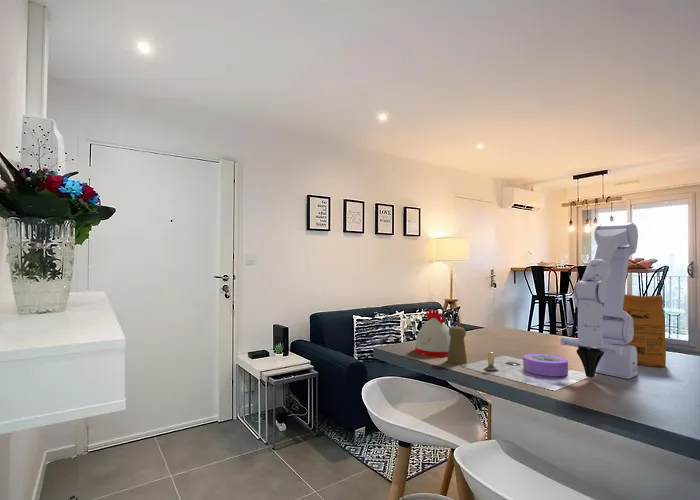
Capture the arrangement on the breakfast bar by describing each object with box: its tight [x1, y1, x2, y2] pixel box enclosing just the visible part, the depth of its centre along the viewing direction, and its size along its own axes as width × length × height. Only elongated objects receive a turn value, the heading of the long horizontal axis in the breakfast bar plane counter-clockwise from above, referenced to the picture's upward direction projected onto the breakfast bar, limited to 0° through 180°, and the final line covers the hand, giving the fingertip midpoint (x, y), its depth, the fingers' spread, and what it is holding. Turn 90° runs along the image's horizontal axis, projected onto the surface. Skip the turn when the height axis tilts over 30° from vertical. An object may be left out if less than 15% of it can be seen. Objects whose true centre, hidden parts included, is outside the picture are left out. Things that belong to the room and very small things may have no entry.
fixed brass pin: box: [486, 351, 496, 371], centre depth 115 cm, size 3×3×5 cm
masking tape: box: [522, 353, 569, 376], centre depth 114 cm, size 12×12×4 cm
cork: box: [446, 326, 468, 365], centre depth 125 cm, size 6×6×11 cm
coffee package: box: [623, 294, 667, 368], centre depth 127 cm, size 10×12×22 cm
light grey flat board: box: [459, 355, 590, 392], centre depth 115 cm, size 28×24×1 cm
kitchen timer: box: [414, 308, 451, 358], centre depth 138 cm, size 14×14×15 cm
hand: (590, 376), depth 105 cm, fingers closed
